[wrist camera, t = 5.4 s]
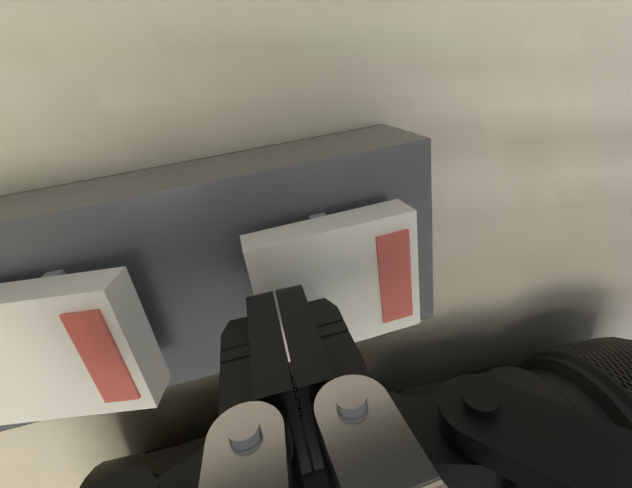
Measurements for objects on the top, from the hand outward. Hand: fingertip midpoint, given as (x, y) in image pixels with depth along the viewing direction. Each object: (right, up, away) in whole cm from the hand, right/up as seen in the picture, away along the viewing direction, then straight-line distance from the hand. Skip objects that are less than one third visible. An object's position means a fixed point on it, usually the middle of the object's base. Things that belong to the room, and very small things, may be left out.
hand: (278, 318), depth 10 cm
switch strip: (-4, +2, +6) cm, 7 cm away
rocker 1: (-6, -1, +1) cm, 6 cm away
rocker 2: (+1, +1, +2) cm, 3 cm away
